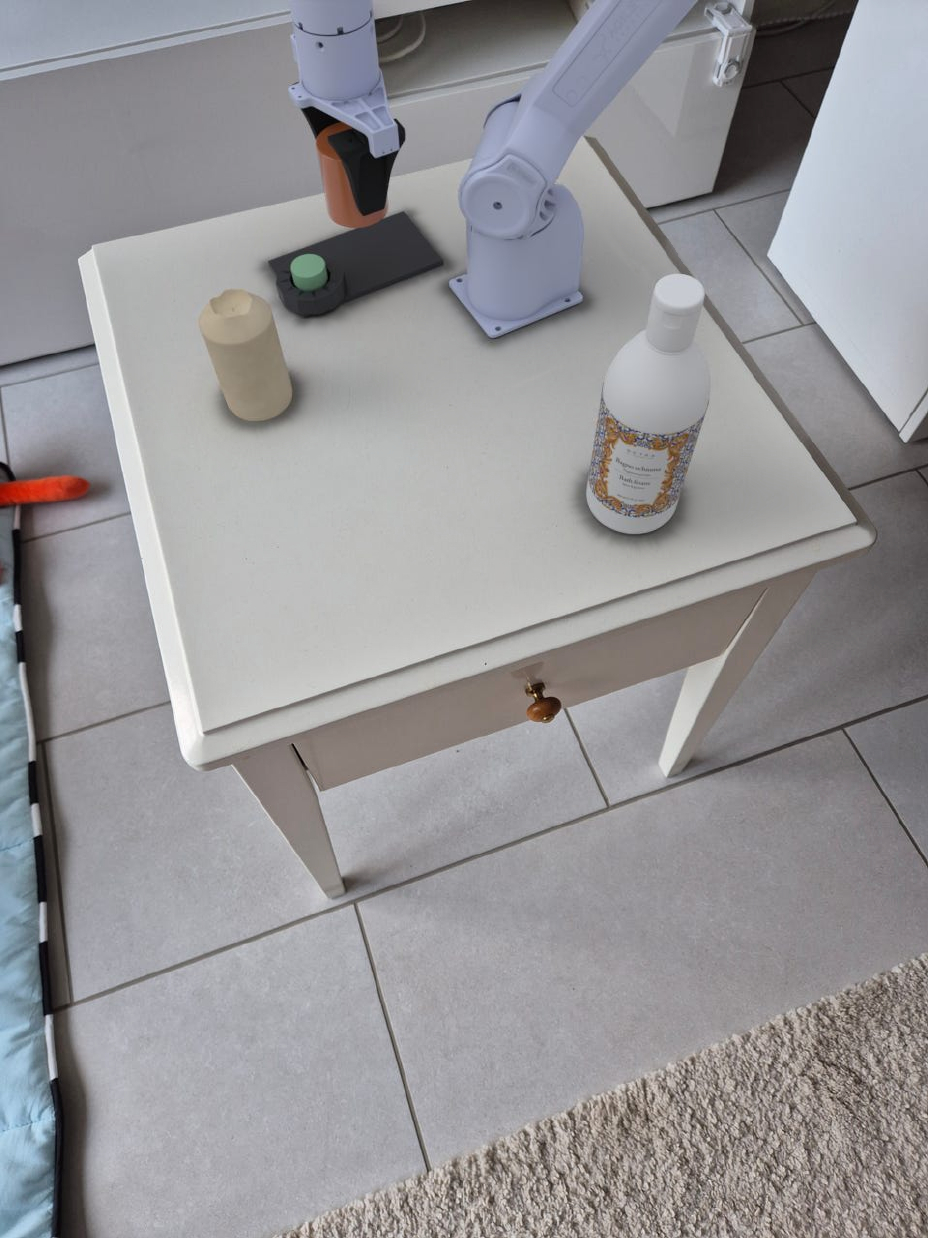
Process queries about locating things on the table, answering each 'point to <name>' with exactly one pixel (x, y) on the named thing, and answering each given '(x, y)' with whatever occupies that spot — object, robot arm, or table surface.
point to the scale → (358, 264)
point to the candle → (246, 354)
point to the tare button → (309, 272)
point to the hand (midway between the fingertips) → (356, 190)
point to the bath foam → (651, 414)
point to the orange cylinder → (340, 185)
